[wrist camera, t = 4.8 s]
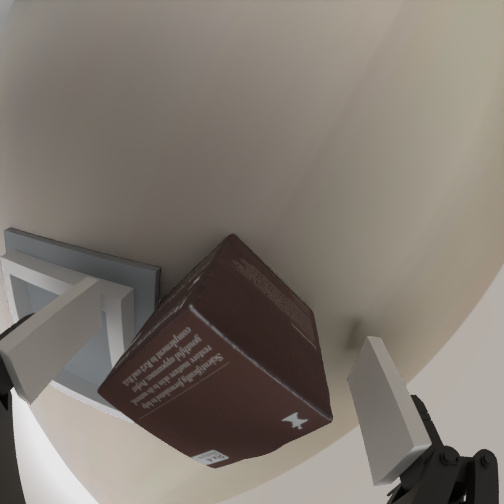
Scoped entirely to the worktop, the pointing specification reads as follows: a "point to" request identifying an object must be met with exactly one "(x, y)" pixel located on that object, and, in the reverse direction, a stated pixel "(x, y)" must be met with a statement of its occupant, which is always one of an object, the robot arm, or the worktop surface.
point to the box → (224, 363)
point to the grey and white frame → (111, 297)
